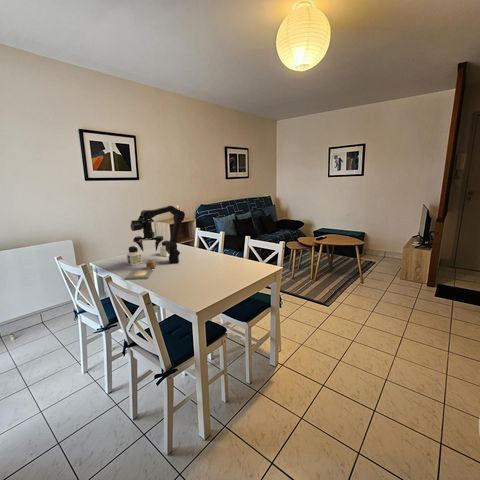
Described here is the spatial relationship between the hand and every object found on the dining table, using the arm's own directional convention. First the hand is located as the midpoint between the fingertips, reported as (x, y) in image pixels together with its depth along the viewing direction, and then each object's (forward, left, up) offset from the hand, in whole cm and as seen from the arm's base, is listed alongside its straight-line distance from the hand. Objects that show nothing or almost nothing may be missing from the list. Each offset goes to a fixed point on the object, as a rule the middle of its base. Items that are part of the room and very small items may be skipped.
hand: (149, 250), depth 179 cm
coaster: (+4, +13, -13) cm, 19 cm away
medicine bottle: (-4, -32, -13) cm, 35 cm away
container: (+15, -12, -13) cm, 23 cm away
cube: (0, 0, -13) cm, 13 cm away
